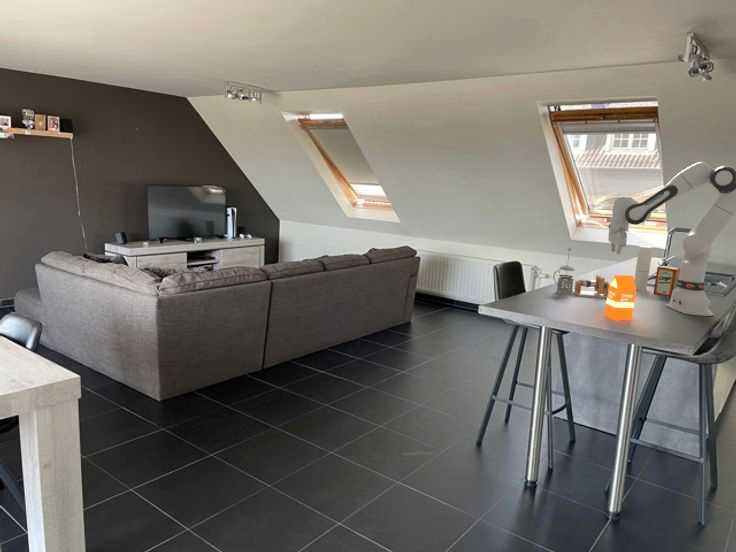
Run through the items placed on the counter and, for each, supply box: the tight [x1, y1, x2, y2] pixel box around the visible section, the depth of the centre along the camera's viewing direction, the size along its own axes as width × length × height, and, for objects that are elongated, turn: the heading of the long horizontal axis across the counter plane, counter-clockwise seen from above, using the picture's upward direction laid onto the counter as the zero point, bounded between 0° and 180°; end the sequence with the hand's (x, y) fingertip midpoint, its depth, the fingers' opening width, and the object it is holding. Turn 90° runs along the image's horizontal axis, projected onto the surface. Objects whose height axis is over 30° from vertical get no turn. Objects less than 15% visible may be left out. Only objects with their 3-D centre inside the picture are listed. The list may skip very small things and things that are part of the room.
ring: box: [593, 274, 606, 294], centre depth 294 cm, size 9×2×9 cm, turn 172°
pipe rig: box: [572, 279, 610, 299], centre depth 295 cm, size 11×19×8 cm, turn 82°
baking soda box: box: [653, 265, 680, 298], centre depth 304 cm, size 10×6×16 cm
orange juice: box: [604, 274, 637, 321], centre depth 246 cm, size 8×9×20 cm
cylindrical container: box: [634, 245, 654, 291], centre depth 317 cm, size 7×7×25 cm
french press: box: [552, 247, 576, 296], centre depth 294 cm, size 10×12×25 cm
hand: (615, 252), depth 291 cm, fingers open, 8 cm apart
